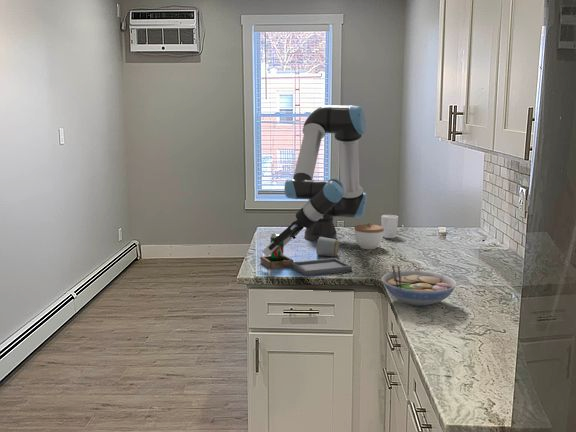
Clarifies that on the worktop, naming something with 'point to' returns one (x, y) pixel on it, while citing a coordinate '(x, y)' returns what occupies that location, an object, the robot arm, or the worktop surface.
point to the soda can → (277, 250)
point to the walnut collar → (276, 262)
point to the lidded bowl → (368, 235)
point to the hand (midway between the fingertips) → (271, 250)
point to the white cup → (389, 225)
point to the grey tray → (320, 267)
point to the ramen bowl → (418, 286)
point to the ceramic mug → (327, 247)
